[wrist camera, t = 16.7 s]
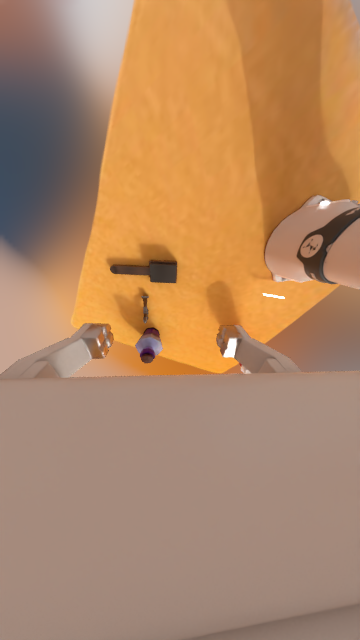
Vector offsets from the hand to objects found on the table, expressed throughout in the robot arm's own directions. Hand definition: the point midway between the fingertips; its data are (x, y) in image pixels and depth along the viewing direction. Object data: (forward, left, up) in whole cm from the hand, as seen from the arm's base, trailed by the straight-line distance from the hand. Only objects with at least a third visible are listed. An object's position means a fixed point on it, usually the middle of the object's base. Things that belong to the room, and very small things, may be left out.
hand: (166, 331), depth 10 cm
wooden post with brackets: (+7, +13, -29) cm, 33 cm away
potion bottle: (+6, +24, -29) cm, 38 cm away
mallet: (+6, +2, -29) cm, 30 cm away
